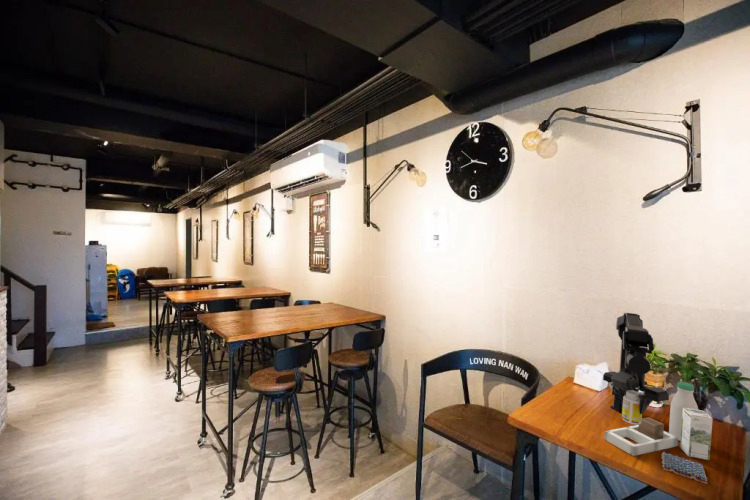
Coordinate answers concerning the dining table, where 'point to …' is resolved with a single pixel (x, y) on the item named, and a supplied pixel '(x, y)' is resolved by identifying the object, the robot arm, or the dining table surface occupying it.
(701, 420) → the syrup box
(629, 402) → the supplement bottle
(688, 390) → the milk bottle
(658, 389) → the robot arm
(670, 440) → the grey divided tray
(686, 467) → the woven mat
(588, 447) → the dining table surface
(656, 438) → the walnut block
